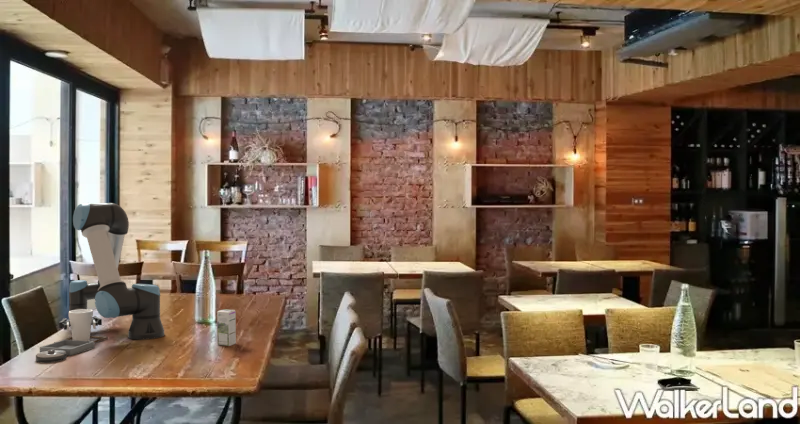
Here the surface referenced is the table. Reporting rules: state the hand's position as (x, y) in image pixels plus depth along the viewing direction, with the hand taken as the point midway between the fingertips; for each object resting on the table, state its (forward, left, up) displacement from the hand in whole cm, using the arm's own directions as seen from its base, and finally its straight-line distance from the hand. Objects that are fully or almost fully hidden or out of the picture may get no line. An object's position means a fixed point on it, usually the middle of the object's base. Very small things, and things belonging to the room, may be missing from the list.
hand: (81, 326), depth 297 cm
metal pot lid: (-7, +27, -7) cm, 28 cm away
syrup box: (-60, -13, -7) cm, 62 cm away
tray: (-3, +13, -7) cm, 15 cm away
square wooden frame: (+3, -3, -7) cm, 8 cm away
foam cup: (+3, -3, -7) cm, 8 cm away
